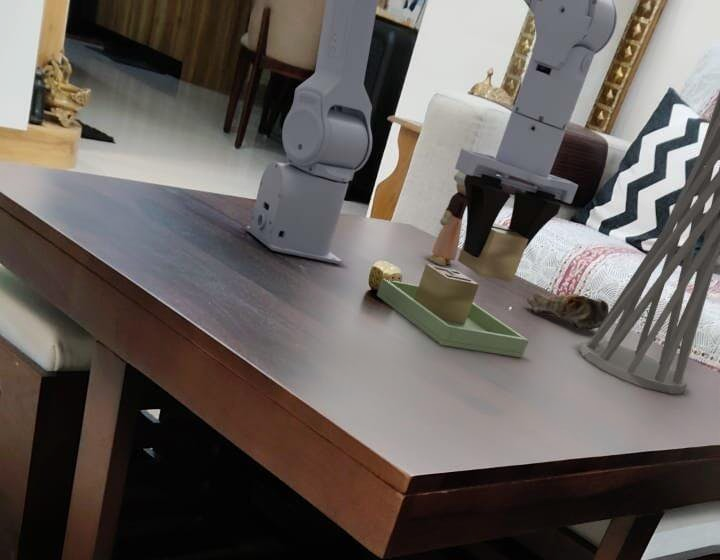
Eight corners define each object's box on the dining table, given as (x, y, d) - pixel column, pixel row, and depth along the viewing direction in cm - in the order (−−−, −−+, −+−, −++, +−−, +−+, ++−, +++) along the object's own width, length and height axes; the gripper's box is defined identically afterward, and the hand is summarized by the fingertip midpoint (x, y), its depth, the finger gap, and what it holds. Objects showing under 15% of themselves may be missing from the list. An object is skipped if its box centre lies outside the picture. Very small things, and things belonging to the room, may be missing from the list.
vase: (571, 337, 125) (703, 27, 107) (667, 369, 127) (813, 70, 109) (590, 369, 114) (741, 28, 96) (695, 404, 116) (863, 76, 98)
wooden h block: (432, 318, 109) (447, 276, 106) (412, 303, 112) (426, 262, 109) (464, 324, 111) (479, 283, 109) (444, 309, 114) (458, 269, 112)
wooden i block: (480, 275, 103) (496, 230, 101) (457, 260, 106) (472, 216, 104) (512, 282, 106) (529, 238, 103) (489, 267, 109) (504, 225, 106)
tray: (441, 345, 102) (447, 326, 101) (376, 295, 112) (381, 277, 111) (521, 357, 108) (529, 340, 107) (454, 309, 118) (459, 293, 117)
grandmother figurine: (449, 270, 138) (482, 174, 131) (423, 260, 138) (455, 164, 131) (455, 262, 144) (487, 170, 138) (430, 252, 144) (461, 161, 138)
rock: (607, 335, 134) (552, 292, 137) (628, 298, 130) (571, 255, 133) (572, 352, 129) (516, 307, 132) (593, 314, 125) (534, 269, 127)
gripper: (506, 111, 92) (455, 258, 99) (615, 148, 100) (560, 282, 107) (465, 94, 96) (419, 236, 103) (572, 130, 104) (523, 260, 111)
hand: (488, 258), depth 105 cm, fingers closed on wooden i block, 4 cm apart
